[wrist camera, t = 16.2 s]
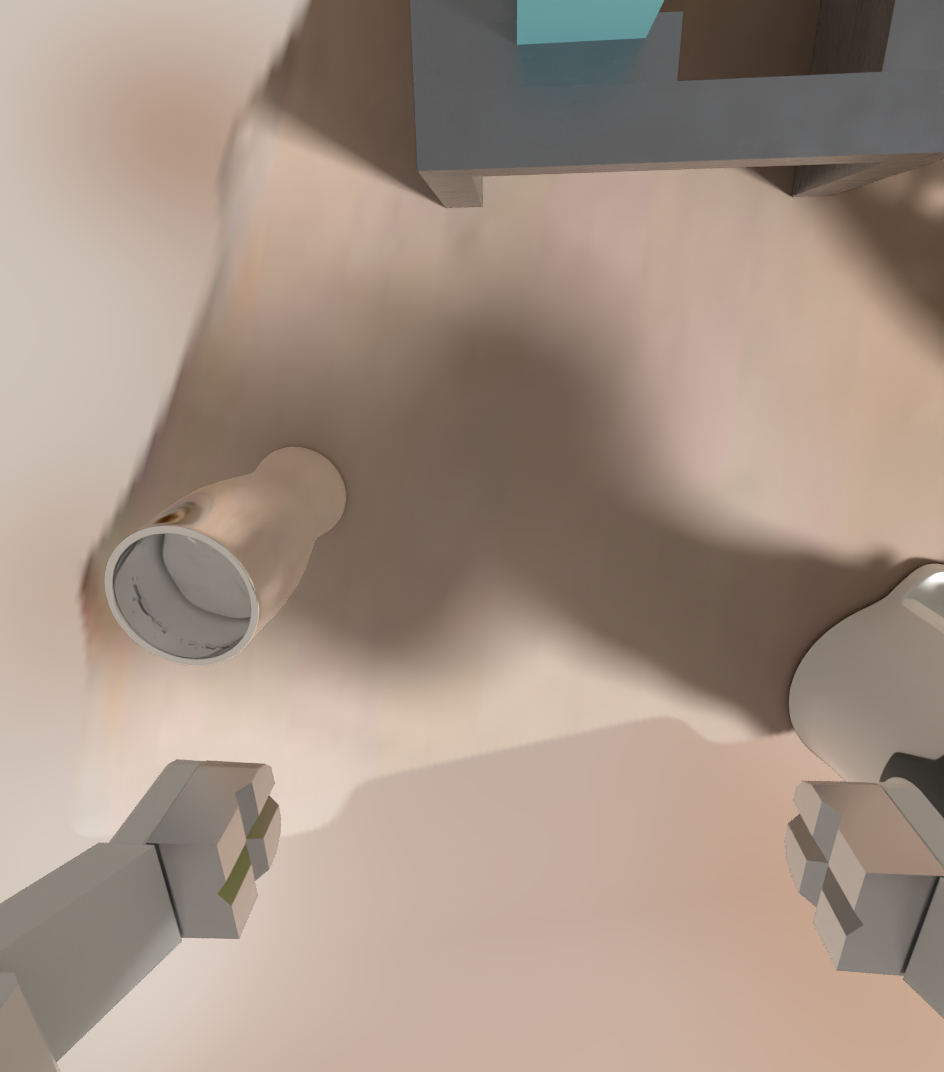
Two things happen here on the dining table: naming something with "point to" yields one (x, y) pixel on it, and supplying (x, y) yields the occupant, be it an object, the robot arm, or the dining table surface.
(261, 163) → the dining table surface
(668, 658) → the dining table surface
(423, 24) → the keyhole bracket
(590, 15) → the peg
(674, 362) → the dining table surface
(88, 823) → the dining table surface
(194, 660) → the beer glass
